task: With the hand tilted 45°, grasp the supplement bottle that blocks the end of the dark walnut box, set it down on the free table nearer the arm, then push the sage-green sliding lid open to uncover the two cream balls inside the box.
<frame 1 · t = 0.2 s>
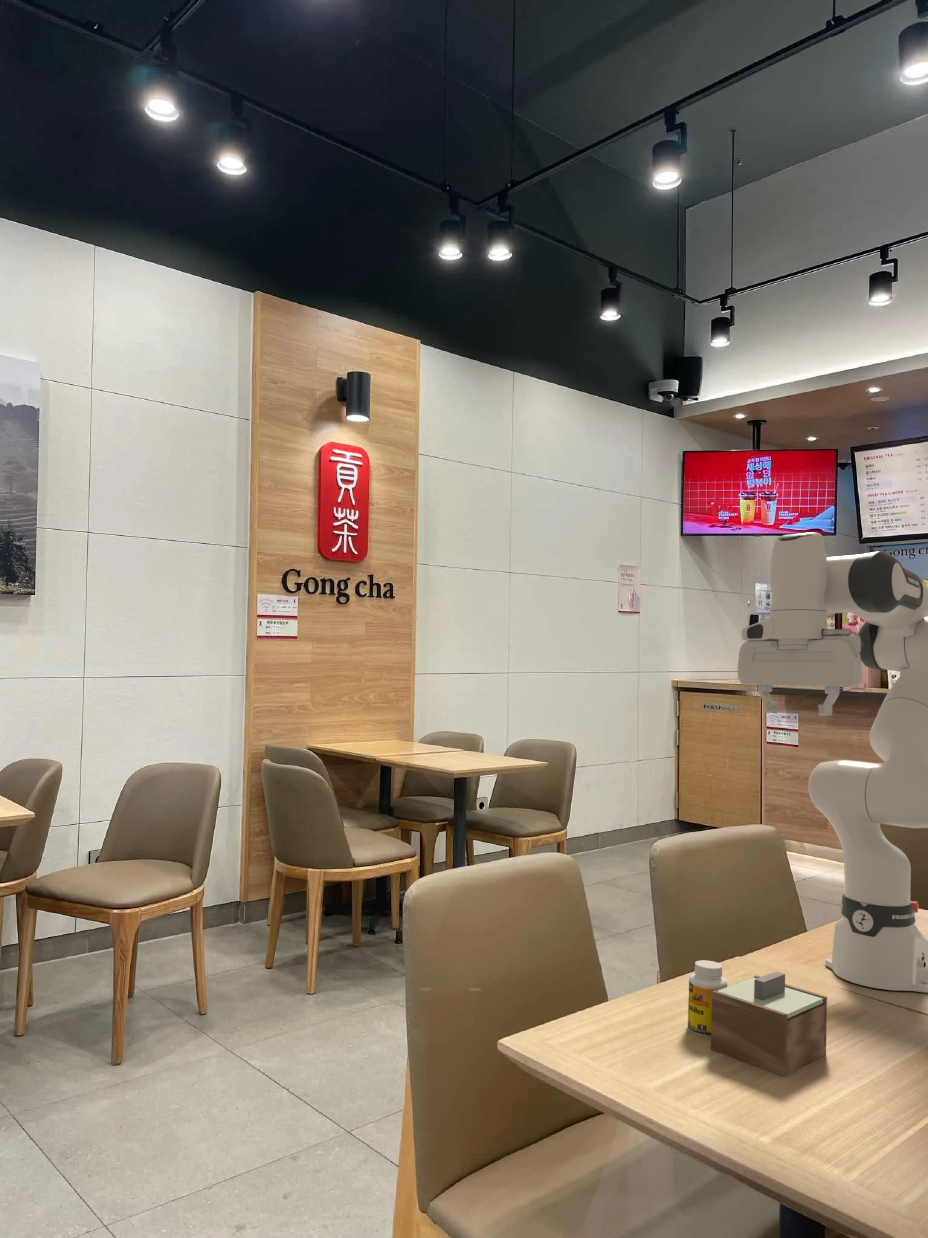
hand: (797, 714, 148), 48 cm above the table, tool pointing down, fingers open, 8 cm apart
walnut box: (768, 1056, 128), on the table
ball a: (790, 1052, 128), point 1 cm above the table, touching walnut box
lid: (769, 988, 129), point 9 cm above the table, slide at 0.0 cm
supplement bottle: (706, 1035, 135), on the table
ball b: (772, 1061, 125), point 1 cm above the table, touching walnut box
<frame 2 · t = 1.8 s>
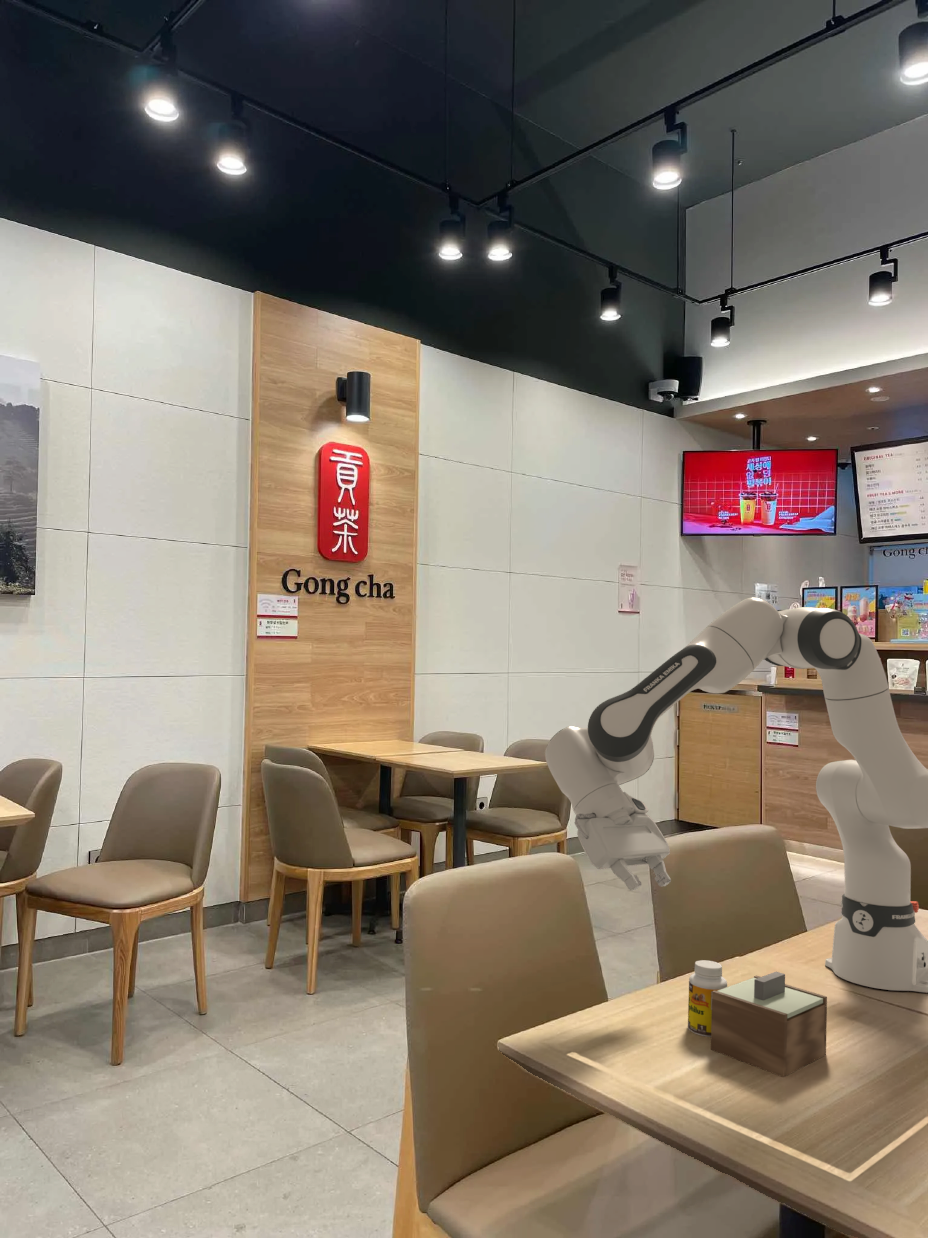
hand: (651, 886, 144), 20 cm above the table, tool tilted 45°, fingers open, 8 cm apart
nothing on the table moved.
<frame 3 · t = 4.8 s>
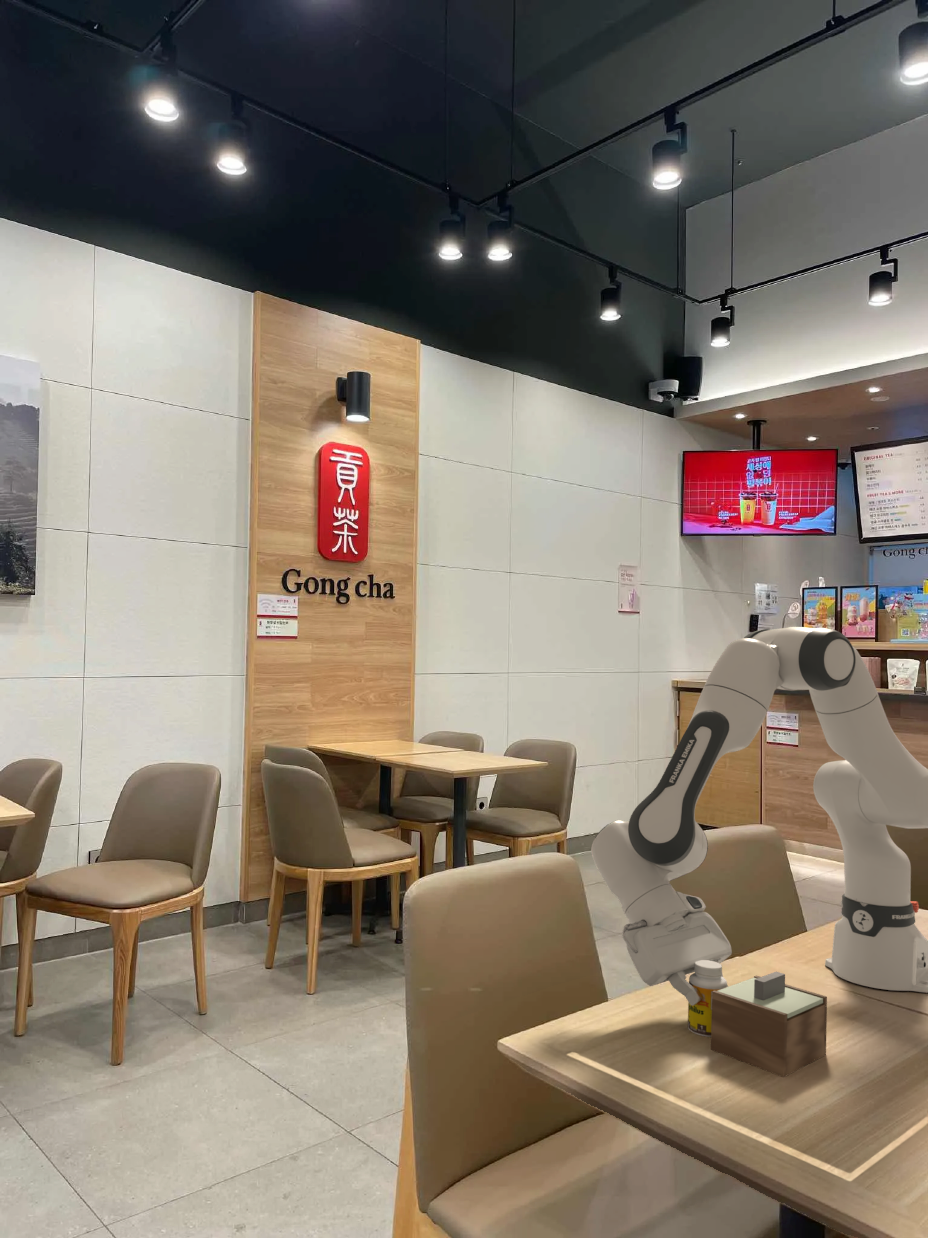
hand: (711, 998, 135), 5 cm above the table, tool tilted 45°, fingers closed on supplement bottle, 5 cm apart
supplement bottle: (706, 1035, 136), on the table, touching gripper
everything else where it was.
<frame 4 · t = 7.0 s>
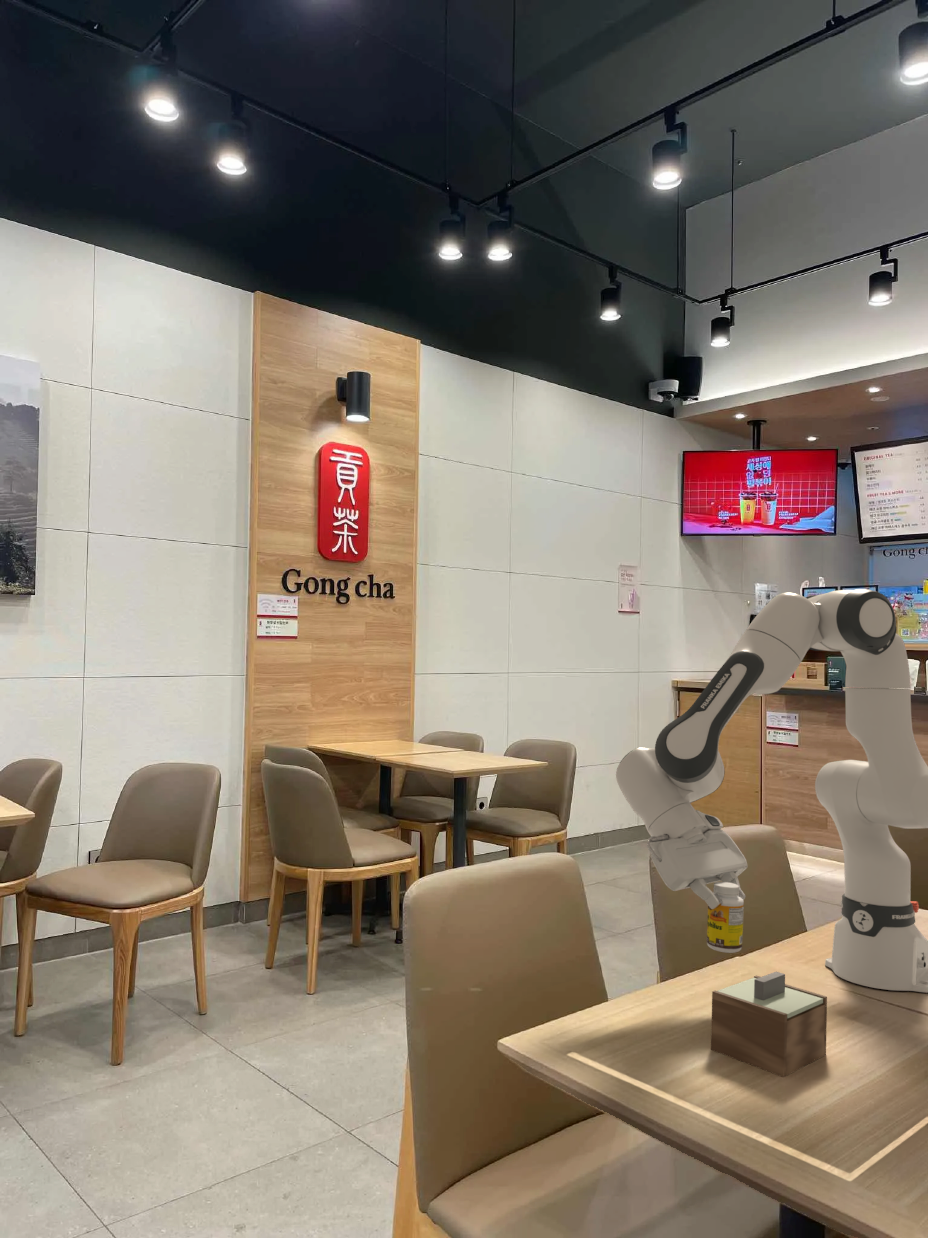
hand: (729, 903, 146), 17 cm above the table, tool tilted 45°, fingers closed on supplement bottle, 5 cm apart
supplement bottle: (724, 949, 147), point 9 cm above the table, touching gripper
everything else where it was.
when the fingers open (7 cm above the table, at t = 9.2 s): supplement bottle stays where it is, on the table.
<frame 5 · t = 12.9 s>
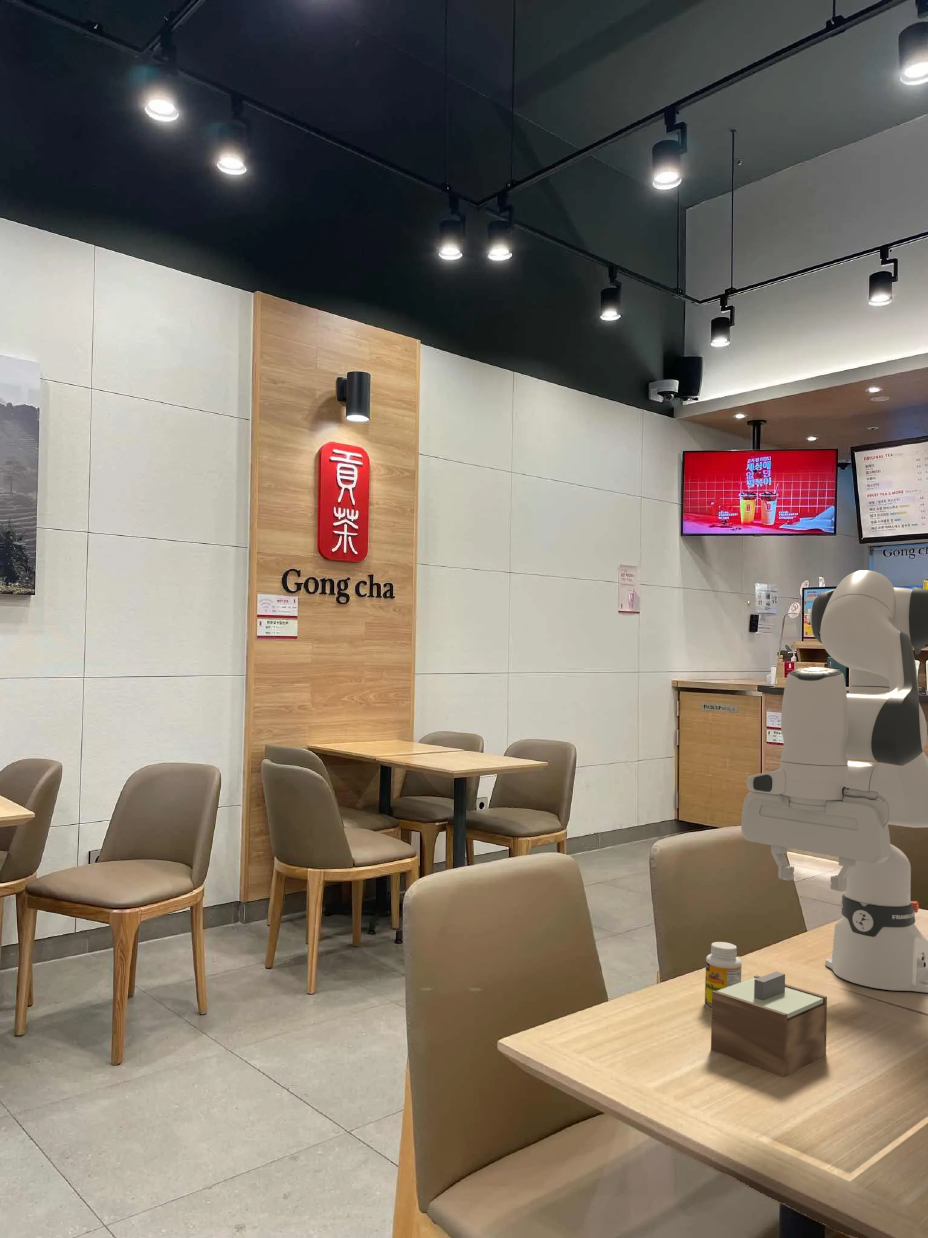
hand: (811, 884, 125), 25 cm above the table, tool pointing down, fingers open, 6 cm apart
supplement bottle: (722, 1011, 146), on the table
everything else where it was.
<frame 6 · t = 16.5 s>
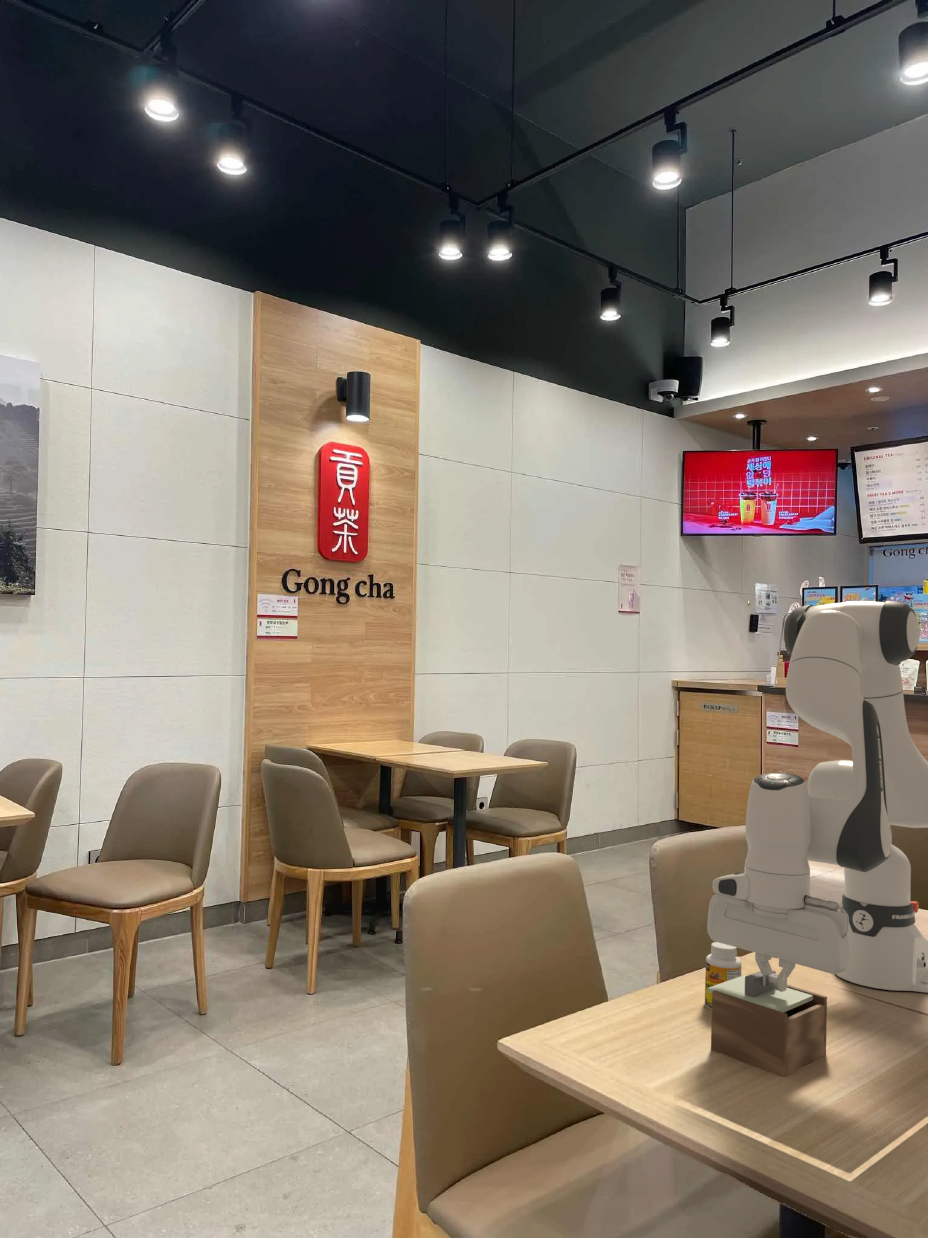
hand: (774, 988, 128), 10 cm above the table, tool pointing down, fingers closed
lid: (760, 985, 130), point 9 cm above the table, slide at 1.5 cm, touching gripper
everything else where it was.
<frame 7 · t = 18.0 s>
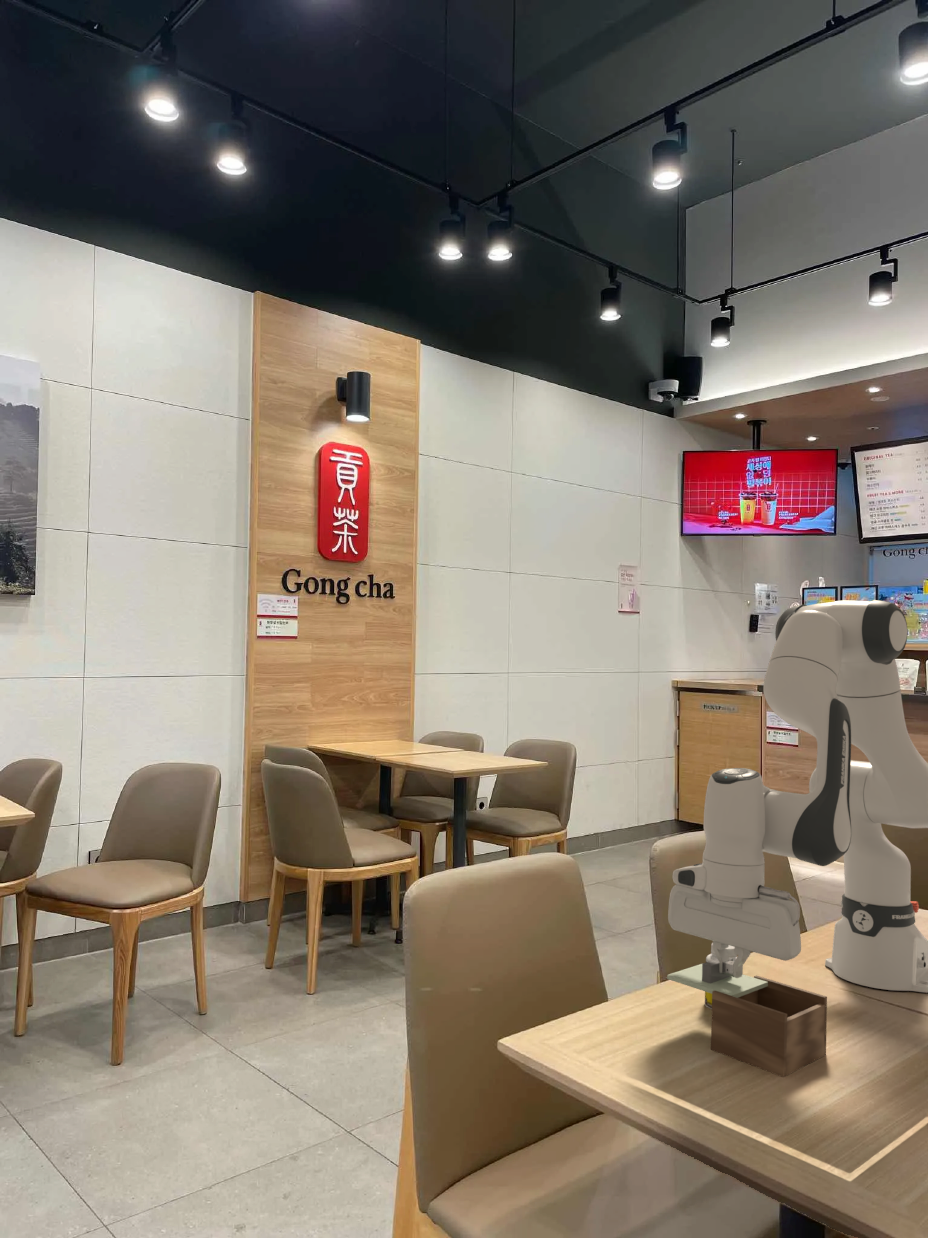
hand: (730, 975, 133), 10 cm above the table, tool pointing down, fingers closed
lid: (717, 972, 135), point 9 cm above the table, slide at 8.4 cm, touching gripper
everything else where it was.
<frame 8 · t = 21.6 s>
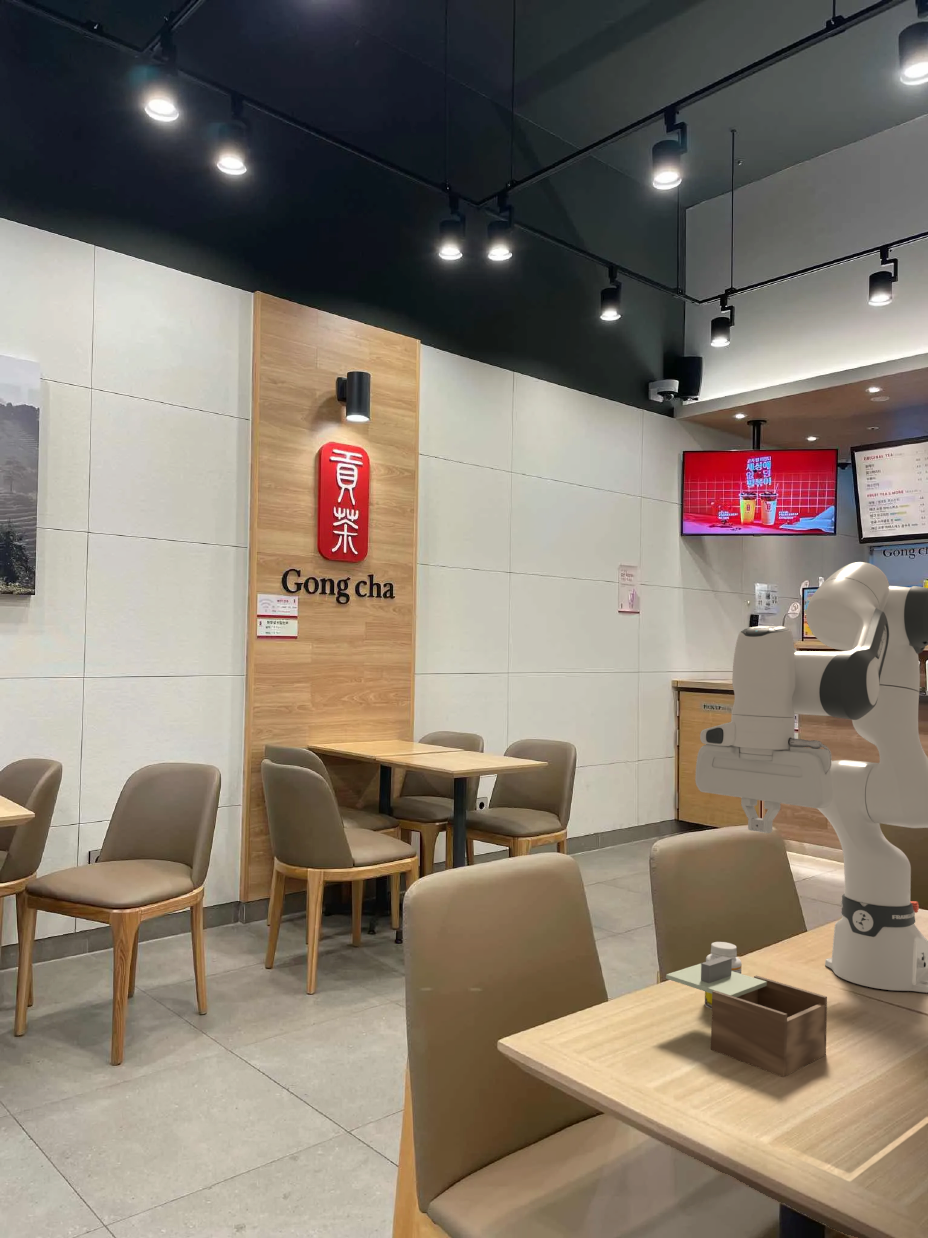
hand: (760, 831, 132), 31 cm above the table, tool pointing down, fingers closed
lid: (716, 971, 135), point 9 cm above the table, slide at 8.6 cm
everything else where it was.
at the end: lid slide at 8.6 cm; supplement bottle inside the target area (0.6 cm from its centre), on the table; supplement bottle tilted 0° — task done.
